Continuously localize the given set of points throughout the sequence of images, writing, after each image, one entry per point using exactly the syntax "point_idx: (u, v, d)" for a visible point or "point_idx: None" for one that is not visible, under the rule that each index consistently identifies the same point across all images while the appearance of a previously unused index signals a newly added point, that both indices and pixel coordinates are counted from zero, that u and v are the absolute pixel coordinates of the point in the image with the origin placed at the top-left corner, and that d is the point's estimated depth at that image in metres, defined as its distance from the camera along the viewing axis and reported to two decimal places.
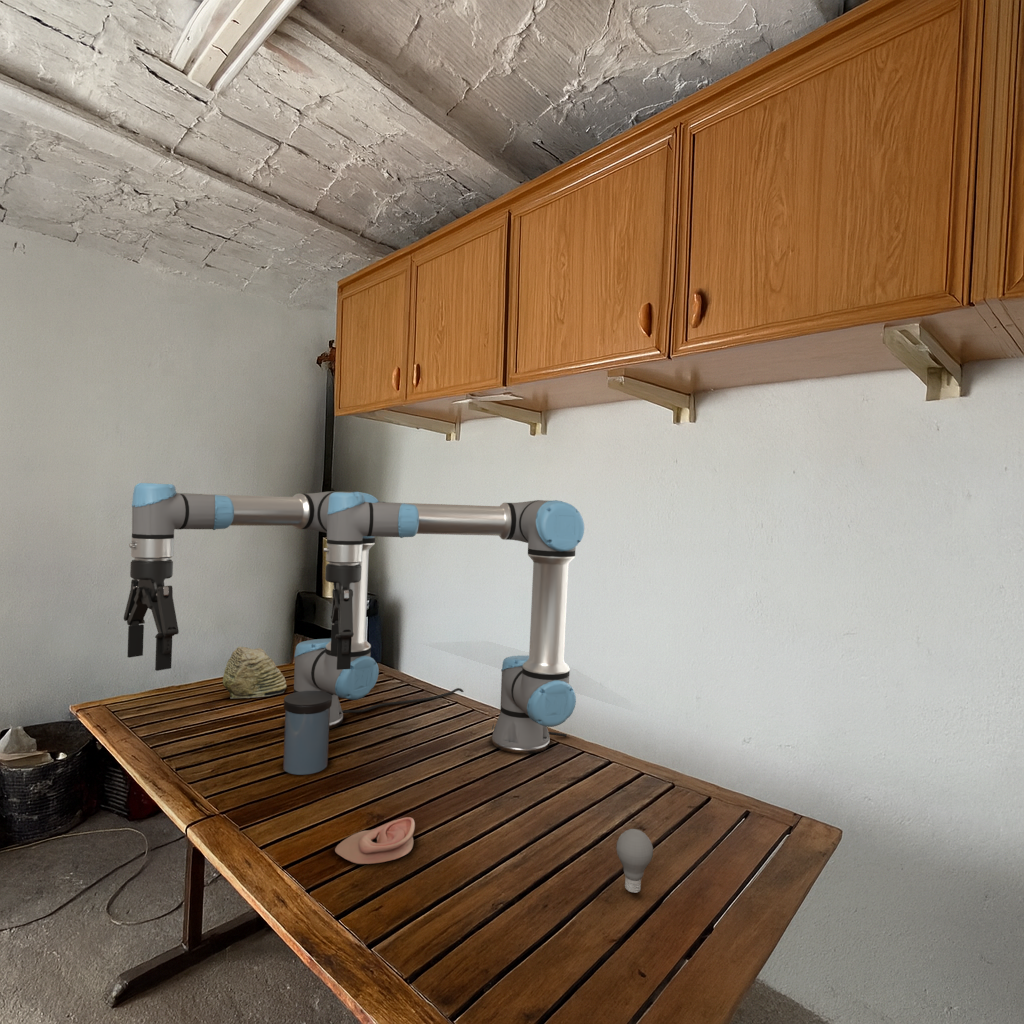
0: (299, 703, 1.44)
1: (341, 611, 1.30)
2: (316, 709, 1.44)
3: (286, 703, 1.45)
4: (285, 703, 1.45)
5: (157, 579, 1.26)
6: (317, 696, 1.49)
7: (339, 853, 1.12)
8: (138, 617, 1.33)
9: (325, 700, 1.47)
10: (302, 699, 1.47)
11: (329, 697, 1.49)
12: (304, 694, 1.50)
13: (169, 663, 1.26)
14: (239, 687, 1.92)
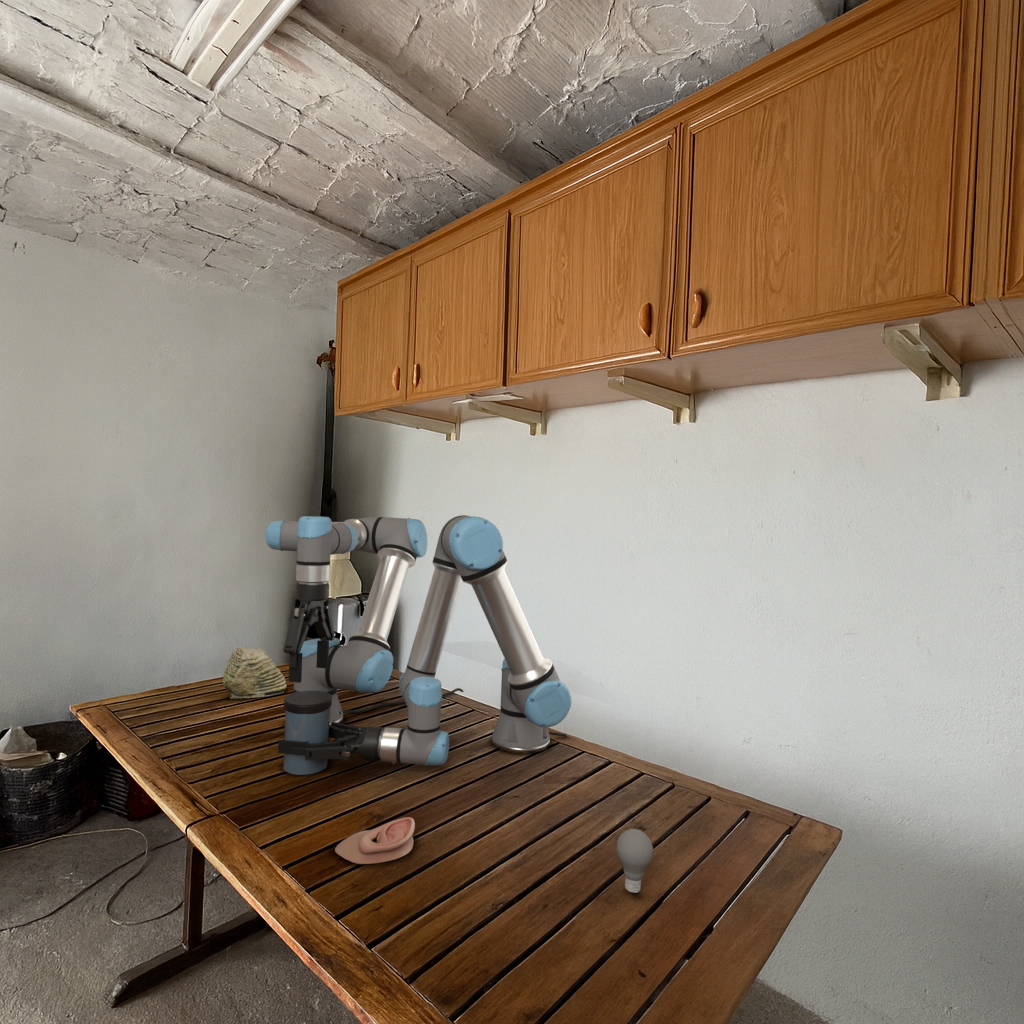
0: (299, 703, 1.44)
1: None
2: (316, 709, 1.44)
3: (286, 703, 1.45)
4: (285, 703, 1.45)
5: (302, 601, 1.44)
6: (317, 696, 1.49)
7: (339, 853, 1.12)
8: (322, 633, 1.54)
9: (325, 700, 1.47)
10: (302, 699, 1.47)
11: (329, 697, 1.49)
12: (304, 694, 1.50)
13: (298, 678, 1.42)
14: (239, 687, 1.92)
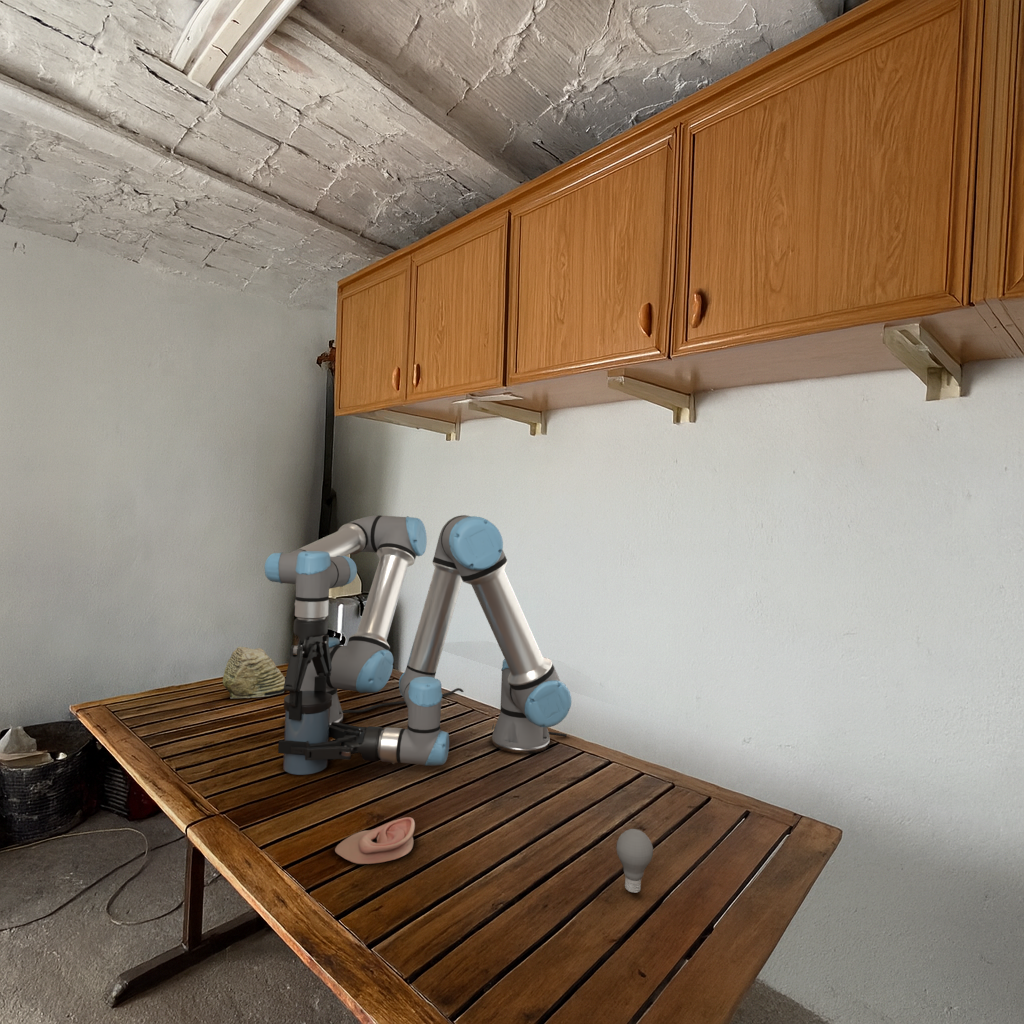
0: None
1: None
2: (316, 709, 1.44)
3: (286, 703, 1.45)
4: (285, 703, 1.45)
5: (301, 637, 1.44)
6: (317, 696, 1.49)
7: (339, 853, 1.12)
8: (319, 669, 1.53)
9: (325, 700, 1.47)
10: (302, 699, 1.47)
11: (329, 697, 1.49)
12: (304, 694, 1.50)
13: (298, 715, 1.42)
14: (239, 687, 1.92)
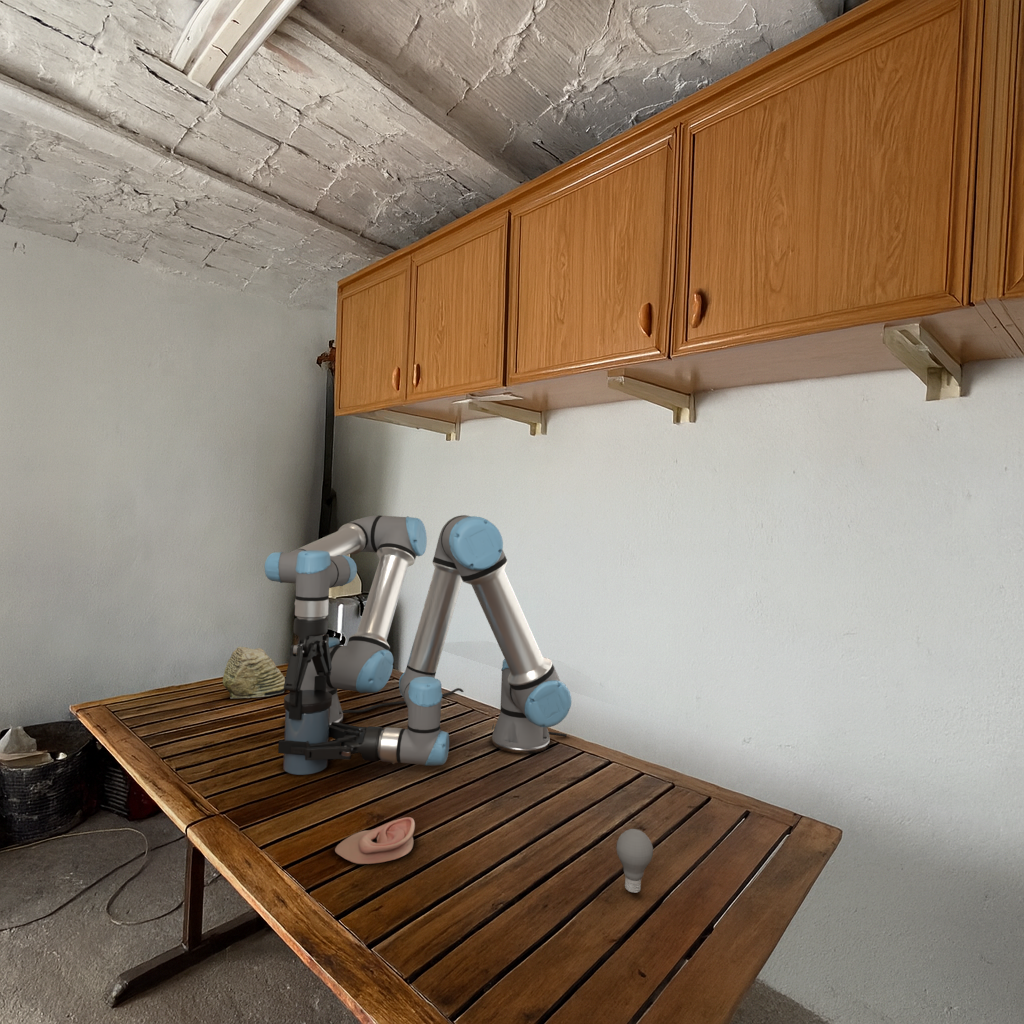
0: (321, 700, 1.46)
1: None
2: (331, 701, 1.49)
3: (308, 705, 1.43)
4: (306, 706, 1.43)
5: (301, 636, 1.44)
6: (312, 694, 1.50)
7: (339, 853, 1.12)
8: (319, 668, 1.53)
9: (327, 692, 1.52)
10: (311, 698, 1.47)
11: (320, 691, 1.53)
12: None
13: (298, 715, 1.42)
14: (239, 687, 1.92)
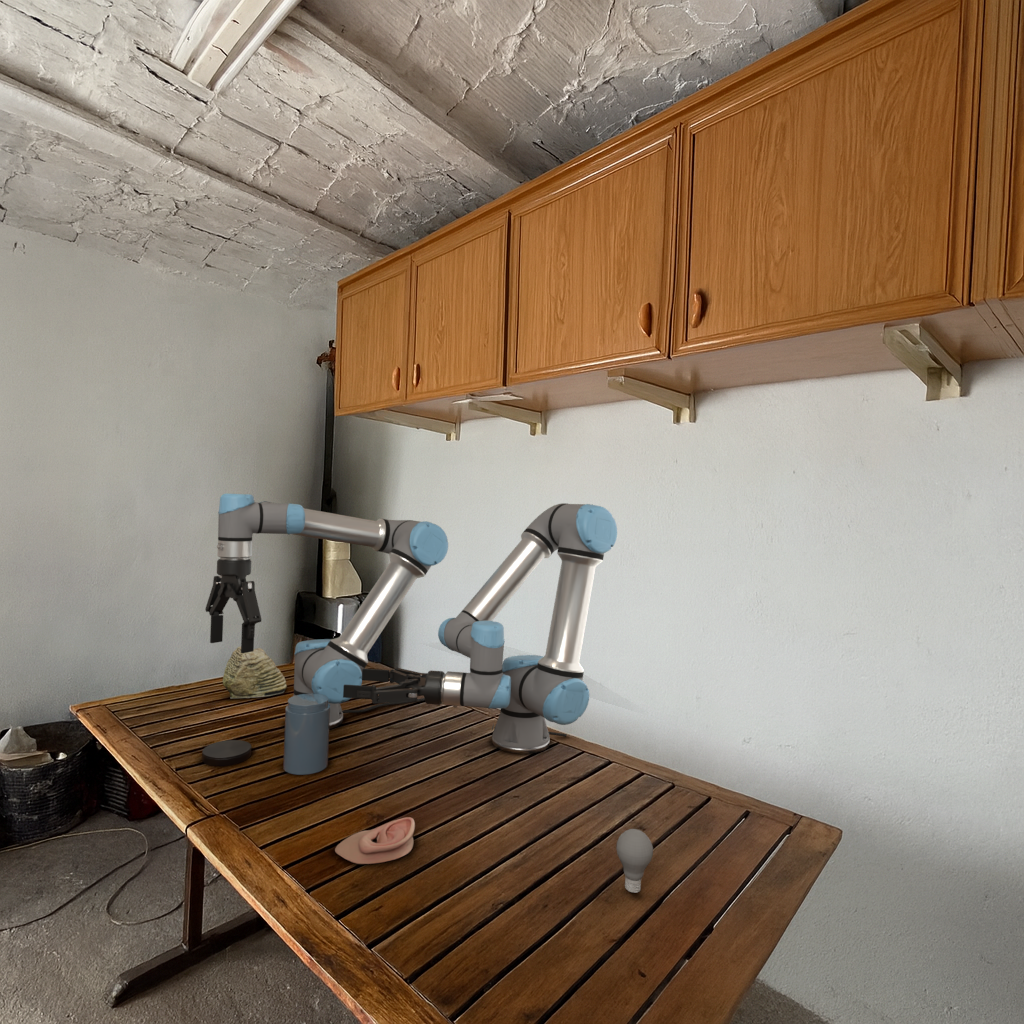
0: (233, 741, 1.56)
1: None
2: None
3: None
4: None
5: (241, 576, 1.48)
6: (217, 750, 1.50)
7: (339, 853, 1.12)
8: (219, 608, 1.55)
9: (208, 746, 1.52)
10: (232, 745, 1.53)
11: (204, 750, 1.50)
12: (232, 751, 1.50)
13: (252, 647, 1.48)
14: (239, 687, 1.92)
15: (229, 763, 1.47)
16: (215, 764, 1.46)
